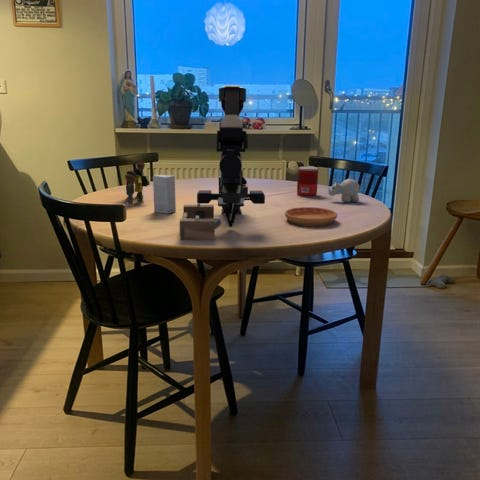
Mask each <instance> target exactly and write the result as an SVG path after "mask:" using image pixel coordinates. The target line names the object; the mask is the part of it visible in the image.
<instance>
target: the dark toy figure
mask: <svg viewBox="0 0 480 480" xmlns="http://www.w3.org/2000/svg"><path fill="white" fill-rule="evenodd" d="M136 167H137V168H134V169H133V170H128V171H126V174H125V176H124V177H125V181H126V184H125V185H126V186H125V190H126V195H127V197H126V198H125V199H124V201H125V202H126V203H125V205H126V207H135V204H134V202H133V201H134V199H137V200H136V202H135V203H136V204H137V205H138V204H139V205H140V204H145V201H144V195H143V191H144V187H148V186H150V184H151V182H150V181H149V179H148V178H147V177H150V175H145V174H144V171H143V170H145V167H146V164H145V163H144V162H137V163H136ZM135 193H136V195H135V197H133V196H134V194H135Z"/></svg>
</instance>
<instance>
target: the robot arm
mask: <svg viewBox="0 0 480 480" xmlns="http://www.w3.org/2000/svg"><path fill="white" fill-rule="evenodd" d="M218 102H219V103H220V106H221V107H220V108H221V110H222V111H223V113H224V118H222V119H221V120H220V121H219V128H218V129H217V128H216V129H217V131H216V152H219V153H220V161H219V164H218V165H219V166H218V167H219V171H220V175H218V192H217V193H215V192H214V193H212V190H209V189H208V190H207V189H204V190H202V189H201V190H198V191H197V193H196V204H197V203H199V204H200V205H209V203H211V202H212V201H217V207H221V214H222V215H225V217H226V221H227V226H228V227H229V228H232V227H233V224H234V221H235V220H236V216H237V215H242V214H243V212H242V209H241V207H244V206H245V201H251V203H252V204H255V205H258V204H259V205H264V204H265V202H266V197H265V196H266V195H265V193H264V192H263V190H249V185H248V181H247V180H246V177H245V176H244V175H243V174H244V173H243V172H244V171H243V170H242V168H243V163H242V160H243V159H242V157H243V156H242V153H246V150H248V149H249V147H248V145H249V144H248V142H249V141H248V140H249V137H248V133H247V130H246V129H244V122H243V121H242V119H240V118H239V117H240V115H241V114H242V111H243V109H244V107H245V106H244V103H246V102H247V88H244V87H242V86H240V85H239V84H238V85H237V84H235V85H232V84H226V85H224V86H222V87H219V88H218Z"/></svg>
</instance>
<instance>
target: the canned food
mask: <svg viewBox="0 0 480 480" xmlns="http://www.w3.org/2000/svg"><path fill="white" fill-rule="evenodd" d="M318 181H319V168H318V167H316V166H299V167H298V169H297V187H296V193H297V196H299V195H300V197H306V196H311V197H316V196H317V194H318V183H319V182H318ZM315 195H316V196H315Z"/></svg>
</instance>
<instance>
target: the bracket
mask: <svg viewBox="0 0 480 480" xmlns="http://www.w3.org/2000/svg"><path fill="white" fill-rule="evenodd" d="M212 219H214V220H215V228H217V227H218V226H219V225H221V223H222V220H221V218H215V217H214V218H212Z"/></svg>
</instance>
